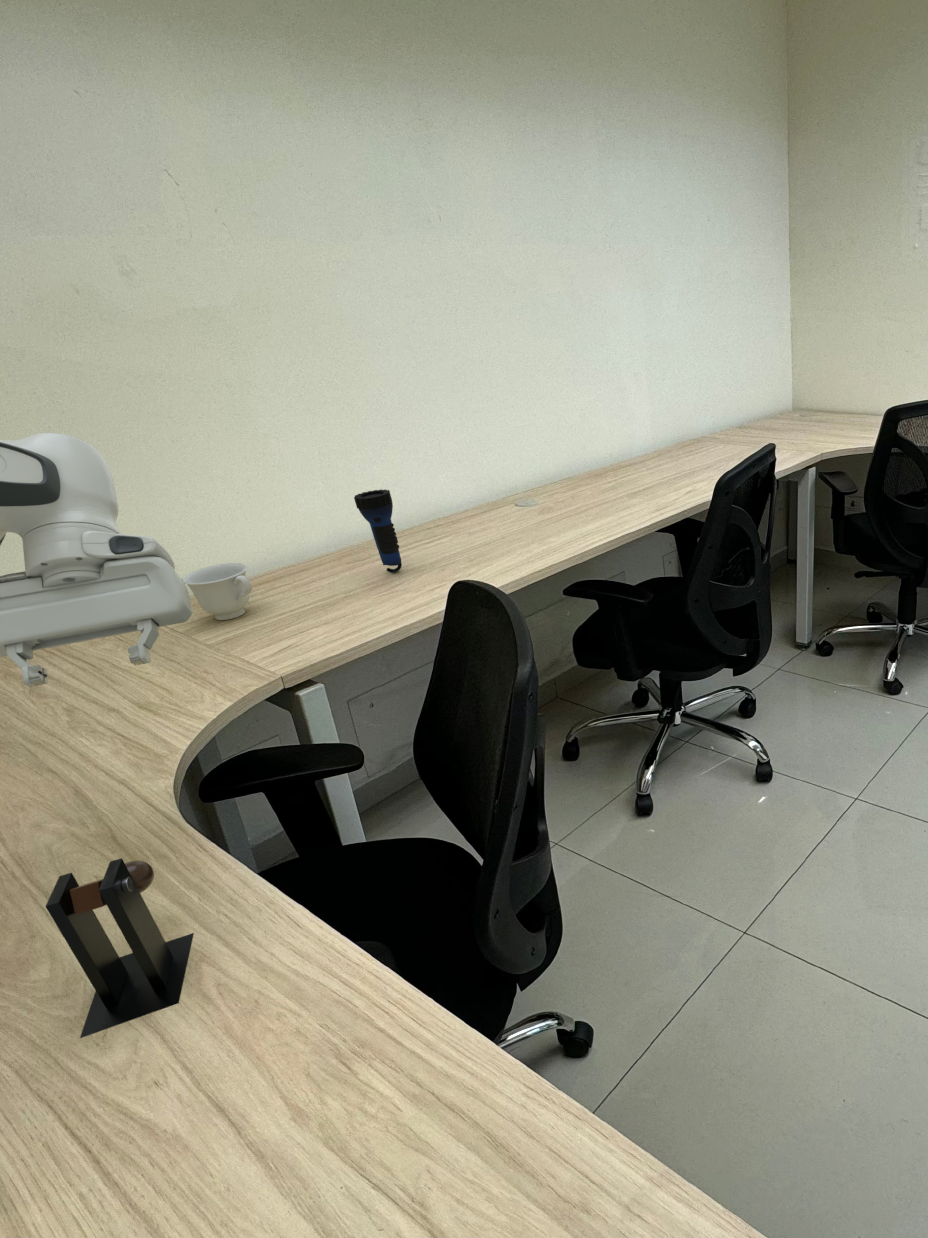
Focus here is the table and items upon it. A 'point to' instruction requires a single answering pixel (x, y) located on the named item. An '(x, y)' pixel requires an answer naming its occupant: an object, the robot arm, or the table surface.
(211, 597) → the teacup
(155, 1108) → the table surface
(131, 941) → the bracket
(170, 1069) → the table surface
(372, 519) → the flashlight
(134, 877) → the lever
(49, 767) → the table surface
